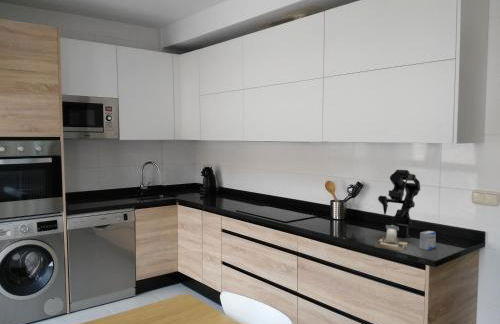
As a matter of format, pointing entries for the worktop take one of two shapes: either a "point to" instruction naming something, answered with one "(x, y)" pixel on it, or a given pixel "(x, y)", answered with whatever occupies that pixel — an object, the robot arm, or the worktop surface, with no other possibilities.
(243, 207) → the worktop surface
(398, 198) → the robot arm
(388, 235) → the white plastic container
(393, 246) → the tribrach base
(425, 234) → the medicine box
